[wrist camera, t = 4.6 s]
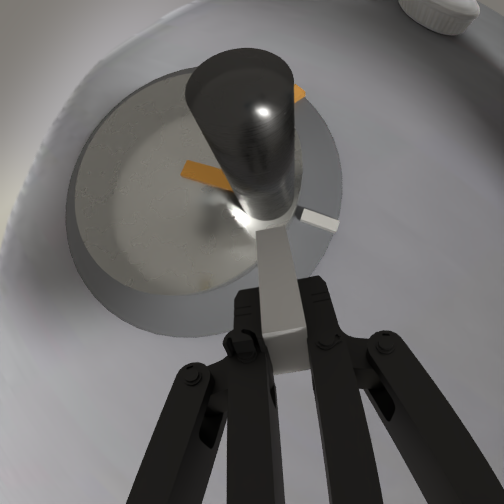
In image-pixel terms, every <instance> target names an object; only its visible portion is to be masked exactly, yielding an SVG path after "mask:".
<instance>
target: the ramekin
mask: <svg viewBox="0 0 504 504" xmlns="http://www.w3.org/2000/svg"><path fill="white" fill-rule="evenodd" d="M398 2H399V4H400V6H401V8H402V9H403V11H404V12H405V13H406V14H407V15H408V16H409V17H410V18H412V19H413V20H414V21H416V22H417V23H419V24H420V25H422V26H424V27H426V28H428V29H430V30H432V31H435V32H437V33H440V34H444V35H459V34H462V33H463V32H464V31H465V30H466V29H467V28H468V26H469V25H470V24H471V23H472V21H473V20H474V19H476V18H477V17H478V16H479V13H480V8H479V5H478V3H477V2H476V0H398Z"/></svg>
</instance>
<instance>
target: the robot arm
mask: <svg viewBox="0 0 504 504" xmlns="http://www.w3.org/2000/svg"><path fill="white" fill-rule="evenodd" d="M256 246H257V262H258V278H259V287H255V288H249V289H243V290H239V291H238V293H237V295H236V297H235V298H234V325H233V330H232V331H230V332H229V333H228V334H227V335H226V336H225V337H224V340H223V346H224V348H225V350H226V352H227V356H226V357H225V358H224V359H223V360H221V361H219V362H217V363H214V364H211V365H209V366H206V365H205V364H202V363H199V362H195V363H190V364H187V365H185V366H184V367H182V368H181V369H180V370H179V372H178V374H177V375H176V378H175V380H174V383H173V385H172V388H171V390H170V392H169V395H168V397H167V400H166V402H165V405H164V407H163V410H162V412H161V415H160V417H159V420H158V422H157V425H156V427H155V430H154V432H153V435H152V437H151V440H150V442H149V445H148V448H147V450H146V453H145V455H144V458H143V460H142V463H141V465H140V468H139V471H138V473H137V476H136V478H135V481H134V484H133V486H132V489H131V492H130V494H129V497H128V500H127V502H126V504H202V501H203V497H204V494H205V491H206V488H207V484H208V481H209V478H210V474H211V471H212V468H213V464H214V461H215V458H216V454H217V451H218V448H219V444H220V441H221V437H222V434H223V431H224V427H225V424H226V420H227V504H285V496H284V482H283V469H282V456H281V444H280V431H279V419H278V407H277V395H276V386H275V383H274V376H273V373H274V375H278V374H284V373H291V372H297V371H303V370H308V369H311V374H312V383H313V390H314V395H315V401H316V408H317V414H318V421H319V428H320V434H321V441H322V449H323V456H324V463H325V471H326V478H327V486H328V494H329V503H330V504H383V499H382V493H381V488H380V482H379V477H378V472H377V467H376V462H375V457H374V452H373V448H372V443H371V438H370V434H369V429H368V425H367V421H366V417H365V412H364V408H363V404H362V400H361V396H360V392H359V389H364V391H365V393H366V394H367V396H368V398H369V400H370V401H371V403H372V405H373V406H374V408H375V410H376V412H377V413H378V415H379V417H380V419H381V420H382V422H383V424H384V426H385V427H386V429H387V431H388V433H389V434H390V436H391V438H392V440H393V441H394V443H395V445H396V447H397V448H398V450H399V452H400V454H401V456H402V457H403V459H404V461H405V463H406V465H407V466H408V468H409V470H410V472H411V474H412V475H413V477H414V479H415V481H416V483H417V484H418V486H419V488H420V490H421V492H422V494H423V496H424V497H425V499H426V501H427V503H428V504H504V489H503V487H502V485H501V484H500V482H499V480H498V479H497V477H496V475H495V474H494V472H493V470H492V469H491V467H490V465H489V464H488V462H487V460H486V459H485V457H484V456H483V454H482V452H481V451H480V449H479V448H478V446H477V444H476V443H475V441H474V440H473V438H472V437H471V435H470V434H469V432H468V431H467V429H466V428H465V426H464V425H463V423H462V422H461V420H460V419H459V417H458V416H457V414H456V413H455V411H454V410H453V408H452V407H451V405H450V404H449V402H448V401H447V400H446V398H445V397H444V395H443V394H442V393H441V391H440V390H439V388H438V387H437V385H436V384H435V383H434V381H433V380H432V379H431V377H430V376H429V374H428V373H427V372H426V370H425V369H424V368H423V366H422V365H421V363H420V362H419V361H418V359H417V358H416V357H415V355H414V354H413V353H412V351H411V350H410V349H409V347H408V346H407V345H406V344H405V342H404V341H403V340H402V338H401V337H400V336H399V335H398V334H396V333H394V332H392V331H384V330H383V331H379V332H376V333H375V334H373V335H372V336H371V337H370V338H369V339H364V338H354V337H351V336H348V335H346V334H345V333H344V332H343V331H342V330H341V329H340V327H339V325H338V321H337V318H336V314H335V311H334V308H333V304H332V301H331V298H330V294H329V291H328V288H327V285H326V282H325V281H324V280H323V279H322V278H321V277H320V276H319V275H318V276H313V277H308V278H302V279H297V278H296V273H295V268H294V264H293V259H292V254H291V250H290V245H289V241H288V236H287V232H286V227H285V226H280V227H274V228H269V229H264V230H258V231H256Z"/></svg>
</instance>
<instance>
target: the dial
mask: <svg viewBox="0 0 504 504" xmlns="http://www.w3.org/2000/svg"><path fill="white" fill-rule="evenodd" d="M302 173H303V163H302V150H301V145H300V140H299V137H298V134H297V131H296V128H295V116H294V78H293V74H292V71H291V69H290V68H289V66H288V65H287V64H286V63H285V61H284V60H282V59H281V58H280V57H278V56H277V55H275V54H273V53H270V52H268V51H265V50H261V49H254V48H239V49H232V50H228V51H224V52H222V53H219V54H217V55H214V56H212V57H211V58H209V59H207V60H206V61H204V62H203V63H202V64H201V65H200V66H198V67H197V69H196V70H195V71H194V72H193V73H189V74H182V75H178V76H174V77H170V78H167V79H165V80H162V81H159V82H157V83H155V84H152V85H150V86H148V87H146V88H144V89H143V90H141V91H139V92H138V93H136V94H135V95H133V96H132V97H130V98H129V99H128V100H126V101H125V102H124V103H123V104H121V105H120V106H119V107H118V108H117V109H116V110H115V111H114V112H113V113H112V114H111V115H110V116H109V117H108V118H107V119H106V121H105V122H104V123H103V124H102V126H101V127H100V128H99V130H98V131H97V132H96V134H95V136H94V137H93V139H92V141H91V142H90V144H89V146H88V148H87V150H86V152H85V155H84V157H83V160H82V162H81V165H80V168H79V172H78V177H77V181H76V189H75V213H76V220H77V225H78V228H79V232H80V235H81V238H82V240H83V242H84V244H85V247H86V248H87V250H88V252H89V253H90V255H91V256H92V258H93V259H94V260H95V262H96V263H97V264H98V265H99V266H100V267H101V269H103V270H104V271H105V272H106V273H107V274H108V275H110V276H111V277H112V278H114V279H115V280H117V281H118V282H120V283H122V284H123V285H125V286H128V287H130V288H133V289H135V290H138V291H142V292H146V293H150V294H158V295H171V296H188V295H197V294H202V293H207V292H211V291H214V290H217V289H219V288H222V287H225V286H227V285H229V284H231V283H233V282H235V281H237V280H239V279H240V278H242V277H244V276H245V275H246V274H248V273H249V272H251V271H252V270H253V269H255V268H256V267H257V266H258V262H257V246H256V231H258V230H264V229H269V228H274V227H280V226H285V227H286V231H287V230H288V228H289V226H290V224H291V222H292V219H293V217H294V215H295V213H296V209H297V206H298V202H299V198H300V192H301V185H302Z"/></svg>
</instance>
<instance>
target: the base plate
mask: <svg viewBox="0 0 504 504" xmlns="http://www.w3.org/2000/svg"><path fill="white" fill-rule="evenodd" d="M196 69H197V67H194V68H188V69H184V70H180V71H177V72H174V73H170V74H167V75H165V76H163V77H160V78H158V79H156V80H153V81H152V82H150V83H148V84H146V85H144V86H143V87H141V88H139V89H138V90H136V91H135V92H133V93H132V94H130V95H129V96H128V97H126V98H125V99H124V100H122V101H121V102H120V103H119V104H118V105H117V106H116V107H114V108H113V109H112V110H111V111H110V112H109V113H108V115H107V116H106V117H105V118H104V119H103V120H102V121H101V122H100V124H99V125H98V126H97V128H96V129H95V130H94V131H93V133H92V134H91V136H90V138H89V139H88V141H87V142H86V144H85V146H84V148H83V150H82V152H81V154H80V156H79V158H78V160H77V162H76V165H75V168H74V171H73V173H72V176H71V180H70V185H69V189H68V194H67V202H66V230H67V239H68V243H69V247H70V251H71V255H72V258H73V260H74V263H75V265H76V268H77V270H78V272H79V274H80V276H81V278H82V279H83V281H84V283H85V285H86V286H87V287H88V289H89V290H90V291H91V293H92V294H93V295H94V297H95V298H96V299H97V300H98V301H99V302H100V303H101V304H102V305H103V306H104V307H105V308H106V309H108V310H109V311H110V312H112V313H113V314H114V315H116V316H117V317H119V318H120V319H121V320H123V321H125V322H127V323H129V324H131V325H133V326H135V327H137V328H139V329H142V330H145V331H148V332H151V333H154V334H159V335H165V336H171V337H203V336H210V335H217V334H221V333H224V332H228V331H231V330H233V325H234V298H235V297H236V295H237V293H238V291H239V290H243V289H249V288H255V287H259V278H258V266H257V267H256V268H255V269H253V270H252V271H251V272H249V273H248V274H246V275H245V276H244V277H242V278H240V279H239V280H237V281H235V282H233V283H231V284H229V285H227V286H225V287H222V288H219V289H217V290H214V291H211V292H207V293H202V294H197V295H188V296H171V295H158V294H150V293H146V292H142V291H138V290H135V289H133V288H130V287H128V286H125V285H123V284H122V283H120V282H118V281H117V280H115V279H114V278H112V277H111V276H110V275H108V274H107V273H106V272H105V271H104V270H103V269H101V267H100V266H99V265H98V264H97V263H96V262H95V260H94V259H93V258H92V256H91V255H90V253H89V252H88V250H87V248H86V247H85V244H84V242H83V240H82V238H81V235H80V232H79V228H78V225H77V220H76V213H75V189H76V181H77V177H78V172H79V168H80V165H81V162H82V160H83V157H84V155H85V152H86V150H87V148H88V146H89V144H90V142H91V141H92V139H93V137H94V136H95V134H96V132H97V131H98V130H99V128H100V127H101V126H102V124H103V123H104V122H105V121H106V119H107V118H108V117H109V116H110V115H111V114H112V113H113V112H114V111H115V110H116V109H117V108H118V107H119V106H120V105H121V104H123V103H124V102H125V101H126V100H128V99H129V98H130V97H132V96H133V95H135V94H136V93H138V92H139V91H141V90H143V89H144V88H146V87H148V86H150V85H152V84H155V83H157V82H159V81H162V80H165V79H167V78H170V77H174V76H178V75H182V74H189V73H193V72H194V71H195V70H196ZM294 116H295V128H296V131H297V134H298V137H299V140H300V145H301V150H302V163H303V173H302V185H301V192H300V198H299V202H298V206H297V209H296V213H295V215H294V217H293V219H292V222H291V224H290V226H289V228H288V230H287V231H286V232H287V236H288V241H289V245H290V250H291V254H292V259H293V264H294V268H295V273H296V278H297V279H302V278H308V277H309V276H310V275H311V274H312V272H313V271H314V269H315V268H316V266H317V265H318V263H319V262H320V260H321V258H322V257H323V255H324V253H325V251H326V249H327V247H328V245H329V243H330V241H331V238H332V236H333V234H334V233H336V231H337V228H338V225H339V222H340V221H338V217H339V213H340V206H341V199H342V171H341V165H340V159H339V154H338V151H337V148H336V145H335V142H334V139H333V137H332V135H331V133H330V131H329V129H328V127H327V125H326V123H325V121H324V120H323V118H322V117H321V116H320V114H319V113H318V111H317V110H316V109H315V108H314V106H313V105H312V104H311V103H310V102H309V101H308V100H307V99H306V98H305V91H304V90H302V89H301V88H300V87H299V86H297V85H296V84H295V85H294Z"/></svg>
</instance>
